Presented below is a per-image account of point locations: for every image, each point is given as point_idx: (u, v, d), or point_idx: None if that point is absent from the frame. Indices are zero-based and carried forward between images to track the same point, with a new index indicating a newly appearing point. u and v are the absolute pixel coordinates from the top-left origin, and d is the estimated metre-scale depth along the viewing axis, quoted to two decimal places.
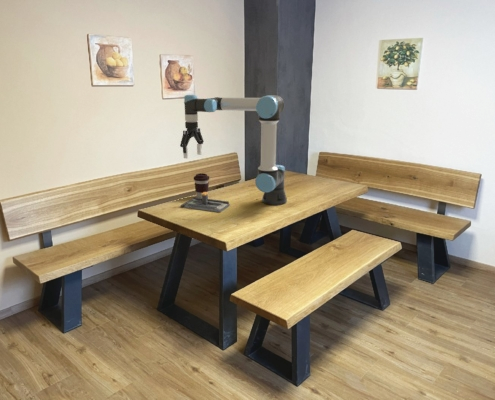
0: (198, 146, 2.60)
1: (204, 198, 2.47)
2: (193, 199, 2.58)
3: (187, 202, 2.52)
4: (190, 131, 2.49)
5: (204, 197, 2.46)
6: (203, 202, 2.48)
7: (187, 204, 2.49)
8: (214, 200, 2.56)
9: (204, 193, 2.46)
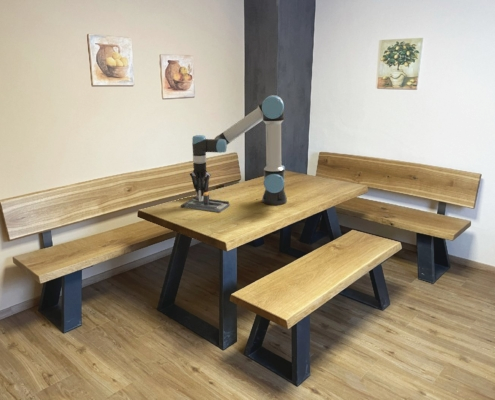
0: None
1: (206, 198, 2.46)
2: (193, 199, 2.58)
3: (187, 202, 2.52)
4: (194, 171, 2.44)
5: (206, 197, 2.46)
6: (205, 202, 2.47)
7: (187, 204, 2.49)
8: (214, 200, 2.56)
9: (206, 193, 2.45)
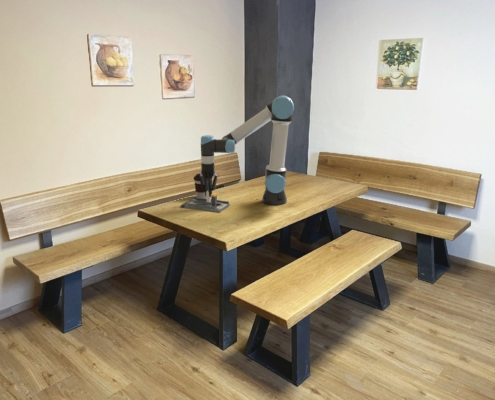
0: None
1: (213, 199, 2.44)
2: (193, 199, 2.58)
3: (187, 202, 2.52)
4: (202, 171, 2.42)
5: (213, 198, 2.44)
6: (212, 203, 2.45)
7: (187, 204, 2.49)
8: None
9: (213, 194, 2.43)
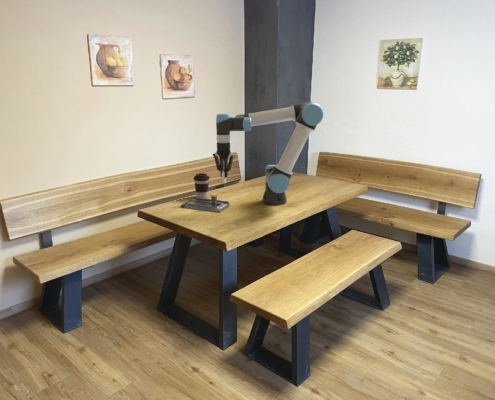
0: None
1: (213, 199, 2.44)
2: (193, 199, 2.58)
3: (187, 202, 2.52)
4: (218, 151, 2.35)
5: (213, 198, 2.44)
6: (212, 203, 2.45)
7: (187, 204, 2.49)
8: None
9: (213, 194, 2.43)
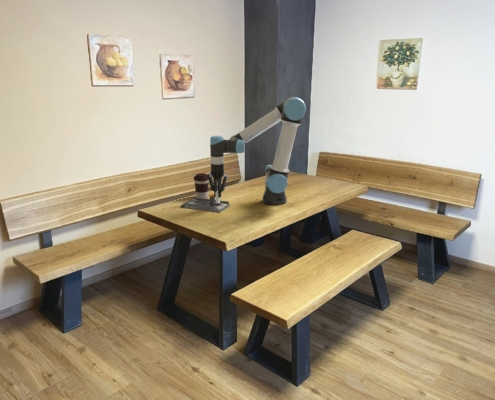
0: None
1: (211, 199, 2.45)
2: (193, 199, 2.58)
3: (187, 202, 2.52)
4: (212, 172, 2.40)
5: (211, 198, 2.45)
6: (210, 203, 2.46)
7: (187, 204, 2.49)
8: None
9: (211, 194, 2.44)
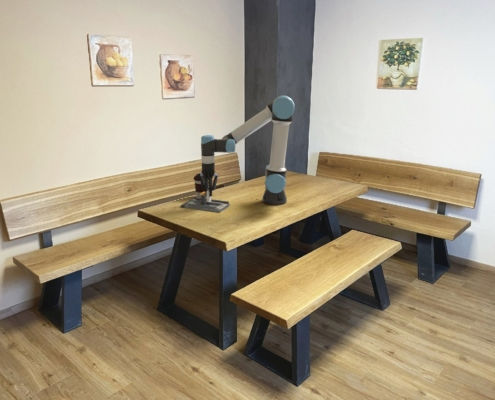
0: None
1: (203, 198, 2.47)
2: (193, 199, 2.58)
3: (187, 202, 2.52)
4: (203, 171, 2.42)
5: (203, 197, 2.47)
6: (202, 202, 2.48)
7: (187, 204, 2.49)
8: (214, 200, 2.56)
9: (203, 193, 2.46)
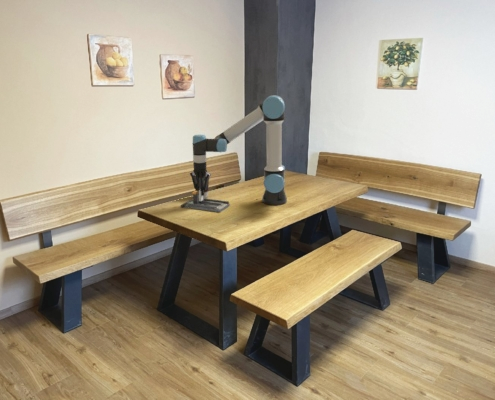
0: None
1: (195, 197, 2.49)
2: None
3: (187, 202, 2.52)
4: (194, 170, 2.44)
5: (195, 196, 2.49)
6: (194, 201, 2.50)
7: (187, 204, 2.49)
8: (214, 200, 2.56)
9: (195, 192, 2.48)
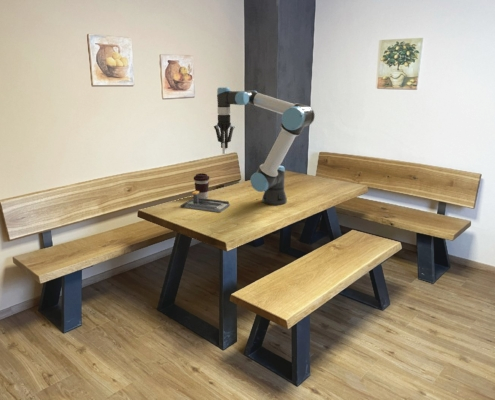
0: None
1: (195, 197, 2.49)
2: None
3: (187, 202, 2.52)
4: (218, 123, 2.49)
5: (195, 196, 2.49)
6: (194, 201, 2.50)
7: (187, 204, 2.49)
8: (214, 200, 2.56)
9: (195, 192, 2.48)
